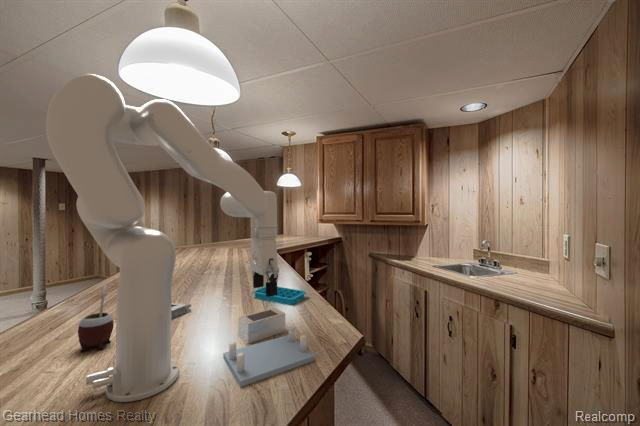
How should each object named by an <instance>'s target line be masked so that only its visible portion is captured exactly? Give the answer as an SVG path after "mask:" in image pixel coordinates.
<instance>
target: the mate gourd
mask: <svg viewBox="0 0 640 426" xmlns="http://www.w3.org/2000/svg"><path fill="white" fill-rule="evenodd" d="M107 285H108V283H104V286H103V289H102V292H101V295H100V298H101V299H100V309H99V312H97V313H93V314H90V315H86V316H85V317H83V318H82V319H81V321H80V322H79V325H78V327H77V328H78V329H77V337H78V340H79V341H78V343H79V346H80V348H81V349H80V353H81V354H84V353H85V352H88V351H92V350H94V349H95V350H97V351H99V352H101V351H103V350H104V347H103V346H105V345H109V344H110V343H111V341H112V340H110V339H111V335H112V333H113V330H114V319H113V316H112V315H111V314H110V313H109V312H103V310H104V301H105V297H106V294H105V293H106V289H107V287H108V286H107Z"/></svg>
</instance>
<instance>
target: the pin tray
mask: <svg viewBox="0 0 640 426" xmlns="http://www.w3.org/2000/svg"><path fill="white" fill-rule="evenodd" d="M295 334H296V327H295V326H292V325H291V326H289V327H288V334H287V335H284V336H280V337H276V338H272V339H269V340H265V341H262V342H257V343H255V344H251V345H247V346H244V347H240V348H237V342H236V341H231V342H229V344H228V345H229V346H228V349H229V350H228V351H225V352H223V355H222V356H223V360H224V362H225V363H226V365H227V366H228V368H229V370H230V372H231V374H232V376H233V377H234V379H235V380H236V382H237V384H238V386H239V387H240V388H242V387H245V386H249V385H250V384H253V383H256V382H259V381H262V380H264V379H267V378H270V377H273V376H276V375H278V374H279V375H280V374H281V373H284V372H287V371H289V370H292V369H295V368H298V367H301V366H304V365H306V364H308V363H309V364H310V363H311V362H312V363H313V362H314V361H316V355H315V354H313V353H312V351H310V350H309V349H307V335H306V334H302V335H301V334H300V337H299V341H298V340H297V339H295V337H296V335H295Z"/></svg>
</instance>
